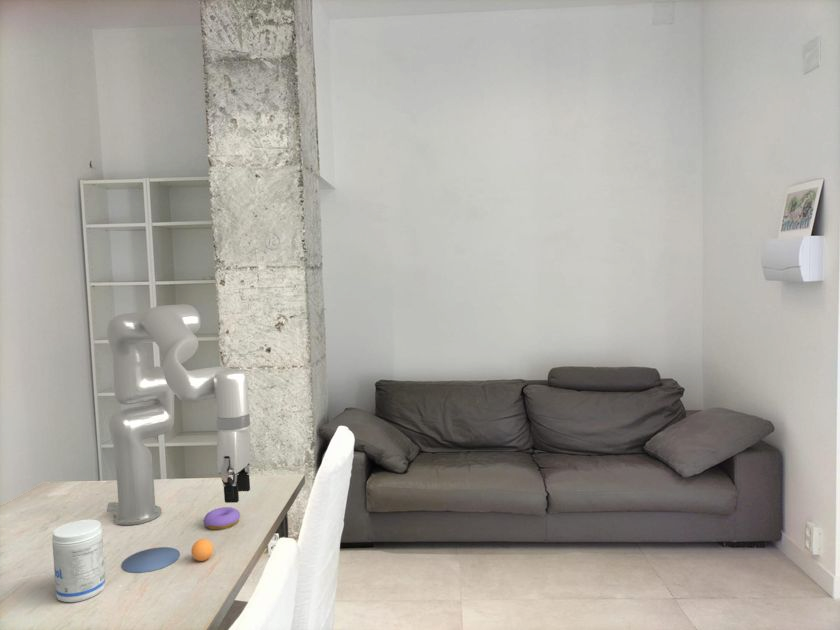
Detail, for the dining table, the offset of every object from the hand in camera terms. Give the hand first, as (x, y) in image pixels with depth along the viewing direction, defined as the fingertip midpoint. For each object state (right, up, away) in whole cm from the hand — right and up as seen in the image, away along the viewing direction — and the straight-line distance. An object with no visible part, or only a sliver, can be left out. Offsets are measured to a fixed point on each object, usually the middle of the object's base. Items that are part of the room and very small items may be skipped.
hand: (237, 495), depth 148 cm
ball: (-9, -13, +2) cm, 16 cm away
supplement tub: (-31, -18, -12) cm, 38 cm away
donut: (-11, -15, +24) cm, 30 cm away
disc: (-22, -16, +3) cm, 27 cm away
